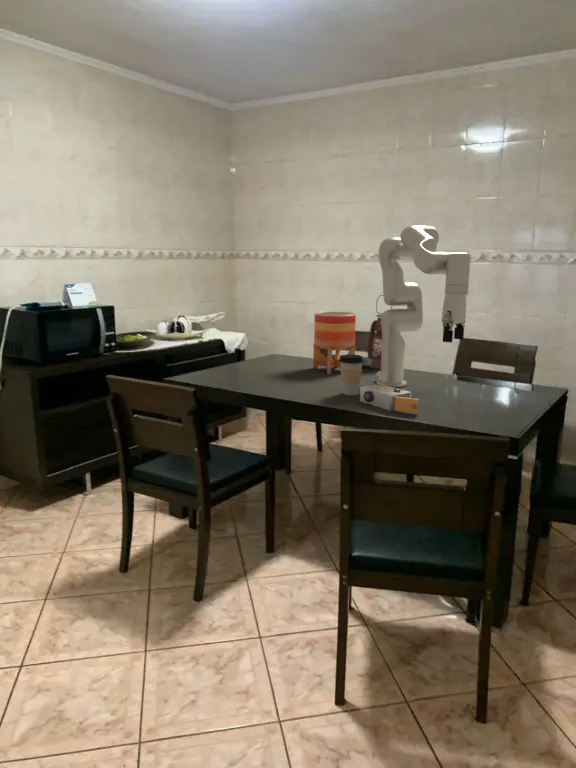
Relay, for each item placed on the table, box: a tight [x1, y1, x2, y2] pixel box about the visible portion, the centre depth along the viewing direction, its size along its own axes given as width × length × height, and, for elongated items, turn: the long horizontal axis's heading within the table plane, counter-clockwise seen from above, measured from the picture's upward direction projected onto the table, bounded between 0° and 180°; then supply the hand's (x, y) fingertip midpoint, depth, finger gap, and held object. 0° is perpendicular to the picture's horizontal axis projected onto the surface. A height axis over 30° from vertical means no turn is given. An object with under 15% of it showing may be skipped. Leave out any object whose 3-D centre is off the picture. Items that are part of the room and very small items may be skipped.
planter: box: [312, 311, 357, 375], centre depth 264 cm, size 20×20×27 cm
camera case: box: [359, 383, 412, 412], centre depth 204 cm, size 16×11×6 cm
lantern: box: [366, 294, 393, 370], centre depth 270 cm, size 11×16×35 cm
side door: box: [392, 396, 420, 415], centre depth 193 cm, size 1×9×5 cm, turn 64°
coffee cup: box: [339, 354, 364, 396], centre depth 219 cm, size 9×9×15 cm
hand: (453, 340), depth 193 cm, fingers open, 9 cm apart
